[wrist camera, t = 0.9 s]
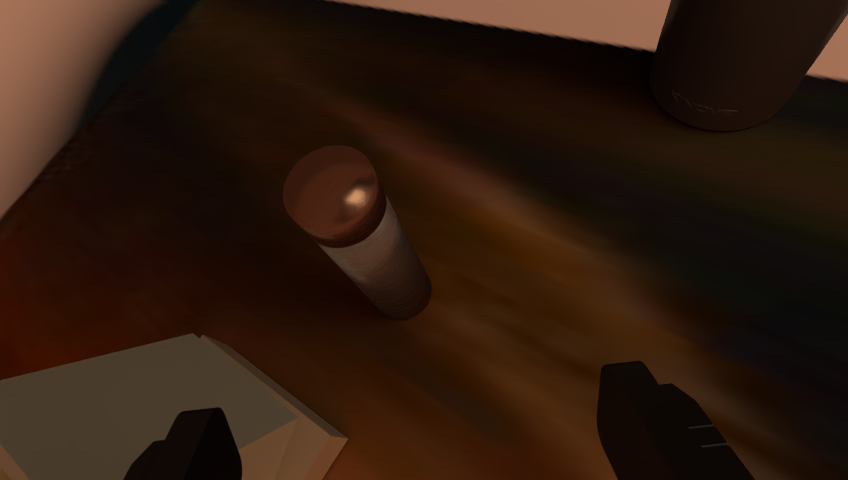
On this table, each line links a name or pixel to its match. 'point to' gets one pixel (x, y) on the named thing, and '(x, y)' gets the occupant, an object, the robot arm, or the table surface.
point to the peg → (357, 228)
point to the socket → (155, 414)
